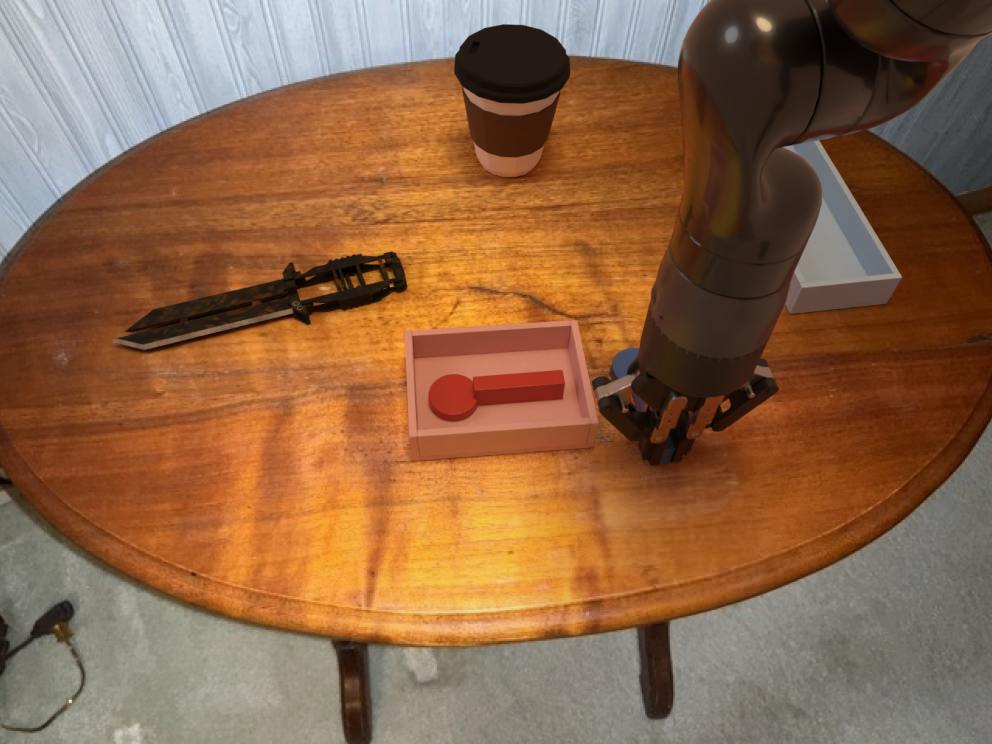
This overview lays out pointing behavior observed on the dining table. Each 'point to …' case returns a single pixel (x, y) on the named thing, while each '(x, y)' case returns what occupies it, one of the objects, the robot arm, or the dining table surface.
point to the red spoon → (491, 391)
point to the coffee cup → (511, 93)
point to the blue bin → (839, 249)
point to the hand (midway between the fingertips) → (661, 453)
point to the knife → (271, 308)
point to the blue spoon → (619, 371)
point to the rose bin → (499, 423)
